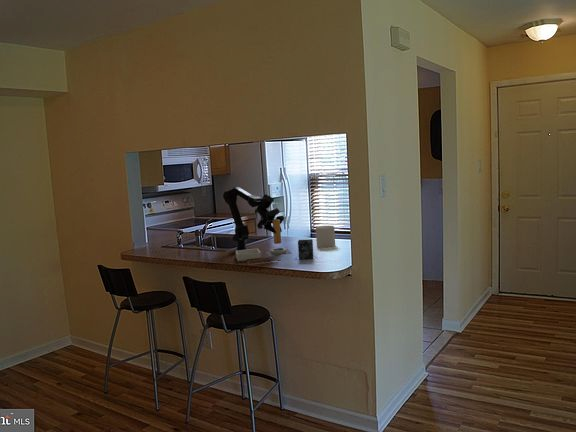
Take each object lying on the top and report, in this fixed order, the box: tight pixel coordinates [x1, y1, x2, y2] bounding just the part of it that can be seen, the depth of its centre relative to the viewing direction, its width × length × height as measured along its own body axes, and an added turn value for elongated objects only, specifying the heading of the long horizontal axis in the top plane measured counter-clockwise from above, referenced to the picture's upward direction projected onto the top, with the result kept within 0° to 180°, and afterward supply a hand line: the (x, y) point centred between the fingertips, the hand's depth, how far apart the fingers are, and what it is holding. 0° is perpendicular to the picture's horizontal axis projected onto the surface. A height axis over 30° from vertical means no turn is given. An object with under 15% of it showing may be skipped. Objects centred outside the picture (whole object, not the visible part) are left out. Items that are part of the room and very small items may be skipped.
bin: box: [235, 248, 262, 263], centre depth 301 cm, size 14×14×4 cm
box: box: [297, 238, 314, 260], centre depth 289 cm, size 8×6×11 cm
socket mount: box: [265, 247, 293, 257], centre depth 306 cm, size 14×14×3 cm
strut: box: [272, 220, 282, 245], centre depth 305 cm, size 4×4×14 cm
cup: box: [315, 225, 336, 248], centre depth 322 cm, size 12×12×12 cm
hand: (278, 232), depth 304 cm, fingers closed on strut, 4 cm apart
